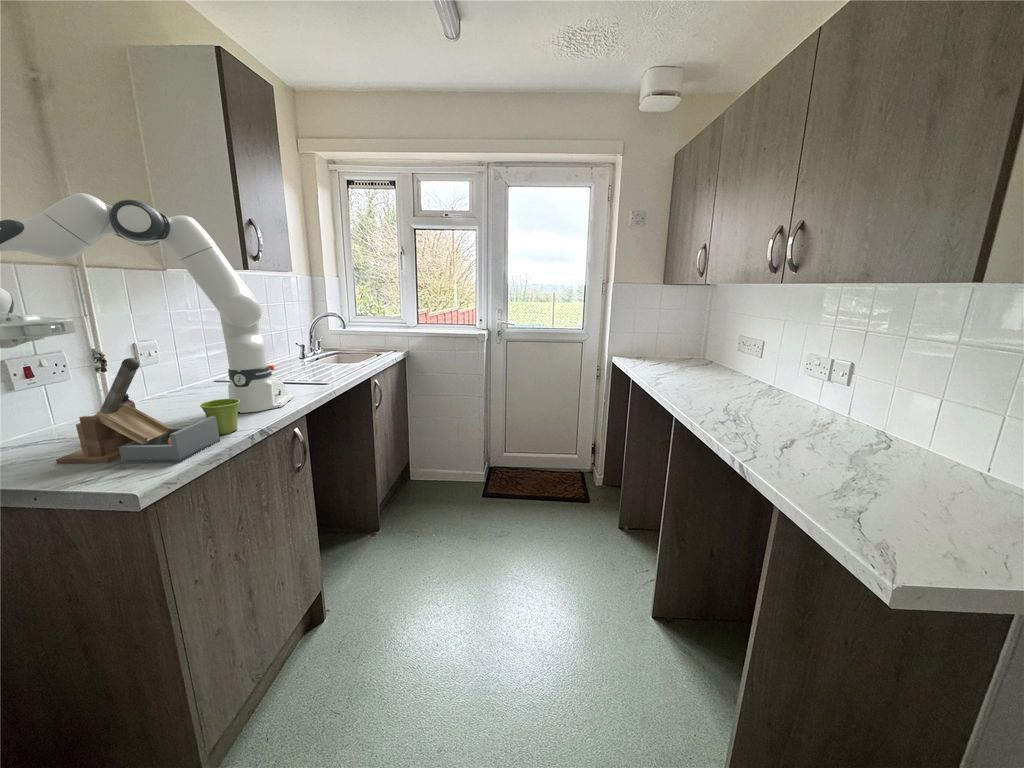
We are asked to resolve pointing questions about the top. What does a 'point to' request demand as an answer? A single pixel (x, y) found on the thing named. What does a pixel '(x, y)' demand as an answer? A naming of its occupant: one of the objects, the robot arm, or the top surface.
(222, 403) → the plant pot
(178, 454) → the bin
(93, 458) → the lever stand
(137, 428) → the launcher
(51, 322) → the robot arm
